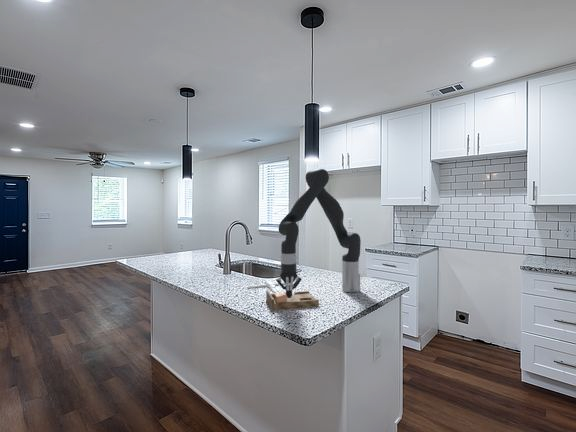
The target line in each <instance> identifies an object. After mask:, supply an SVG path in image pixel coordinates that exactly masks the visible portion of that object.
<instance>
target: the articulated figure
mask: <svg viewBox="0 0 576 432" xmlns="http://www.w3.org/2000/svg"><path fill="white" fill-rule="evenodd" d="M281 283H282V284H283V285H284V286H285V283H284V281H281ZM277 286H280V285H279V283H278V282H274V283H273V281H269V280H268V279H265V280H264V283H262V284H255V285H254V284H253V285H247V289H251V288H252V289H255V288H263V287H267V288H269V289H270V290H271V292H273V294H277V293H285V294H286V291H283V292H282V291H280V289H279V287H277Z"/></svg>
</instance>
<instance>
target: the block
mask: <svg viewBox="0 0 576 432" xmlns="http://www.w3.org/2000/svg"><path fill="white" fill-rule="evenodd" d="M285 293H286V292H285ZM285 293H283V292H282V293H277V294H276V293H273V294H274V295H275V303H280V302H287V295H286V294H285Z"/></svg>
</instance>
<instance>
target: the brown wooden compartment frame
mask: <svg viewBox="0 0 576 432" xmlns="http://www.w3.org/2000/svg"><path fill="white" fill-rule="evenodd" d="M265 293H266V297H265V299H266V302H267V304H268V306H269V307H270V309H271V311H278V310H290V309H300V308H302V309H303V308H312V307H319V305H320V299H318V298H317V299H316V298H315V297H314V296H313V295H312V294H311V293H310V290H303V291H302V290H301V291H294V293H292V297H291V298H287V302H280V303H275V295H274V294H275V293H271V292H270V291H269V290H266V291H265Z"/></svg>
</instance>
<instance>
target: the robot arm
mask: <svg viewBox="0 0 576 432" xmlns="http://www.w3.org/2000/svg"><path fill="white" fill-rule="evenodd" d="M329 179H330V175H329V173H328V171H327V170H326V169H324V168H318V169H312V170H309V171H307V172H306V174H305V182H306V184H307V186H308V187H309V188H308V189H307V190H306V191H305V192H304V193H303V194H301V196H300V197H298V199H297V200H295V201H296V202H294V204H293V206H292V208H291V209H290V211H289V212H288V213H287V214H286V215H285V216H284V218H283V219H281V221H280V222H279V225H278V232H279V234H281V235H282V236H285V240H283V241H281V250H280V251H281V253H280V254H281V255H280V275H279V277H278V278H276V279H275V281H276V283H279V285H278V286H280V287H281V288H282V289H283V290H284V291H285V293H286V295H287V298H291V297H292V295H293V290H294V289H296V288H297V287H298V285H299V284H300V282H302V278H301V277H300V276H298V273H297V248H296V244H297V240H298V236H299V232H300V230H299V225H298V223H297V222H301V221H302V220H303V219H304V217H305V214H306V213H307V212H308V209H309V208H310V206H311V205H312V203H313V202H314V201H315V199H317V201H318V203H319V204H320V206H321V208H322V210H323V212H324V214H325V216H326V217H327V219H328V222H329V223H330V225H331V228H332V229H333V231H334V234H335V235H336V238H337V241H338V243H339V245H340V246H341V247H342V248H343V249H348V250H347V253H346V254H345V253H344V254H343V255H342V257H341V259H342V260H341V263H342V265H341V268H342V269H341V271H342V272H341V274H342V276H341V279H342V280H341V281H342V282H341V284H342V285H341V287H342V288H341V289H342V291H343V292H346V293H351V294H352V293H358V292H361V274H360V271H359V268H360V265H359V264H360V260H359V259H360V255H361V245H362V244H361V243H362V241H361V237H360V234H358V232H349V231H348V230H347V229H346V227H345V226H344V225H345V224H344V216H345V215H344V211H343V209H342V206H341V204H340V203H339V201H338V200H337V199H336V198H335V197H334V196H333V195H331V194H330V193H329V192H328V191H327V189H326V188H325V187H326V186H327V184H328V182H329ZM281 282H284V283H285V284H284V285H283V284H282V283H281Z"/></svg>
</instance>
